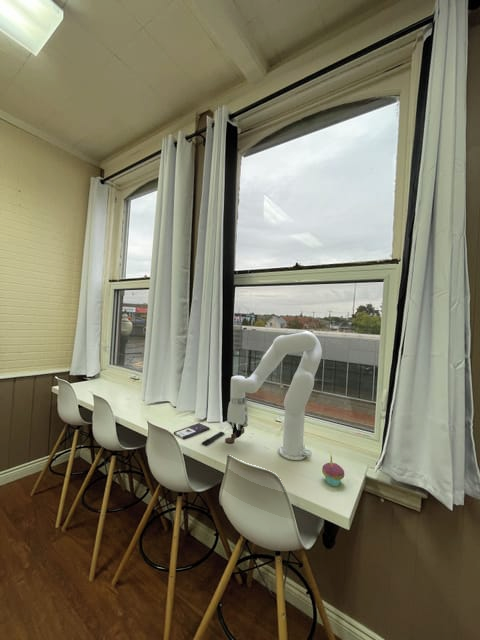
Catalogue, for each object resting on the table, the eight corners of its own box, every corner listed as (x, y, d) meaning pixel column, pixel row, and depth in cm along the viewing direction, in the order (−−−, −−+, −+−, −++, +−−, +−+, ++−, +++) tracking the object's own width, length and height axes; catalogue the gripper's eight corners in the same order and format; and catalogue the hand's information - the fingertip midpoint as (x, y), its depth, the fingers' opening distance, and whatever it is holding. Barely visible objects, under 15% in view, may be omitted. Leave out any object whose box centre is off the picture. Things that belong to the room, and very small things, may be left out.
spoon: (239, 431, 142) (239, 426, 142) (246, 433, 140) (247, 428, 140) (223, 442, 128) (223, 437, 128) (231, 445, 126) (231, 439, 126)
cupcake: (335, 491, 101) (336, 460, 101) (317, 480, 107) (318, 450, 108) (348, 484, 106) (349, 454, 106) (329, 473, 112) (331, 445, 113)
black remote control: (220, 432, 148) (220, 431, 148) (224, 434, 146) (224, 432, 146) (201, 444, 133) (201, 442, 133) (206, 445, 132) (206, 444, 132)
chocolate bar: (209, 427, 152) (184, 437, 138) (209, 429, 152) (184, 439, 138) (199, 423, 157) (174, 431, 143) (198, 424, 157) (173, 433, 143)
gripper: (254, 401, 135) (253, 437, 135) (228, 396, 143) (227, 430, 142) (247, 404, 128) (246, 442, 128) (220, 399, 136) (220, 435, 136)
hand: (236, 436), depth 135 cm, fingers closed on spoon
